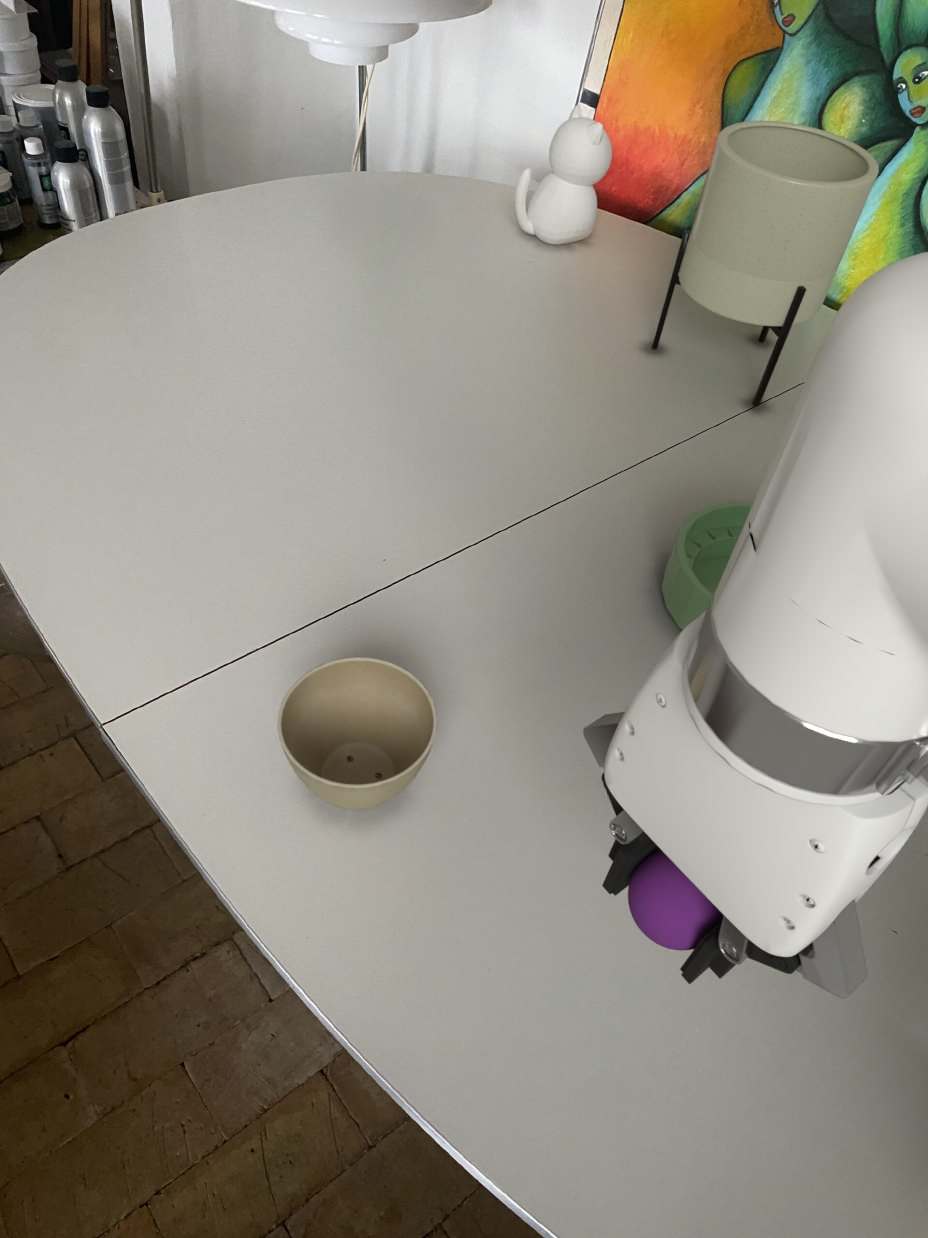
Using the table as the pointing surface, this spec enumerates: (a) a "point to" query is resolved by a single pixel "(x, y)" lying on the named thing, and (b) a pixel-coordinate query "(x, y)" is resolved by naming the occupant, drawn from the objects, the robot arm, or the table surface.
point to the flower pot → (357, 730)
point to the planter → (772, 226)
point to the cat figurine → (566, 183)
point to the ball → (669, 904)
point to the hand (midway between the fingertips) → (667, 914)
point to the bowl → (701, 559)
